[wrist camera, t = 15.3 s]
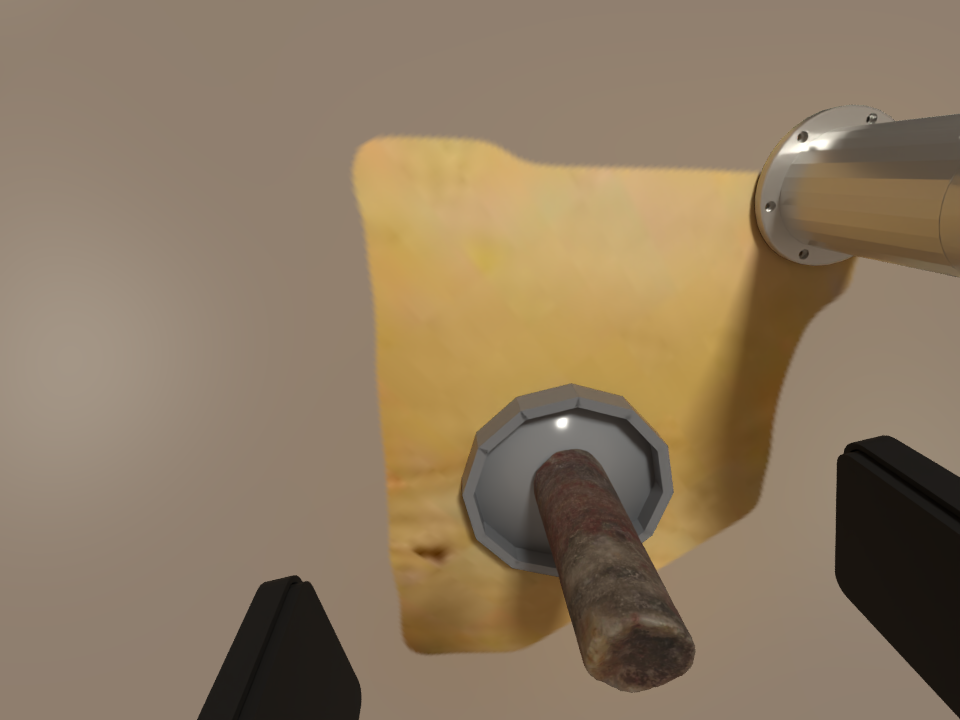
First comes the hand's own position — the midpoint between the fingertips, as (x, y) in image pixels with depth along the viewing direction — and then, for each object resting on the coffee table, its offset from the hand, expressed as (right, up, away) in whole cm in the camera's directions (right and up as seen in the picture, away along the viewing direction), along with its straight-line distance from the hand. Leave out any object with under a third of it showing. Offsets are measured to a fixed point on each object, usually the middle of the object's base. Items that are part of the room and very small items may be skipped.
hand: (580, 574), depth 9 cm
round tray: (+7, -8, +42) cm, 44 cm away
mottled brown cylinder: (+7, -8, +42) cm, 43 cm away
